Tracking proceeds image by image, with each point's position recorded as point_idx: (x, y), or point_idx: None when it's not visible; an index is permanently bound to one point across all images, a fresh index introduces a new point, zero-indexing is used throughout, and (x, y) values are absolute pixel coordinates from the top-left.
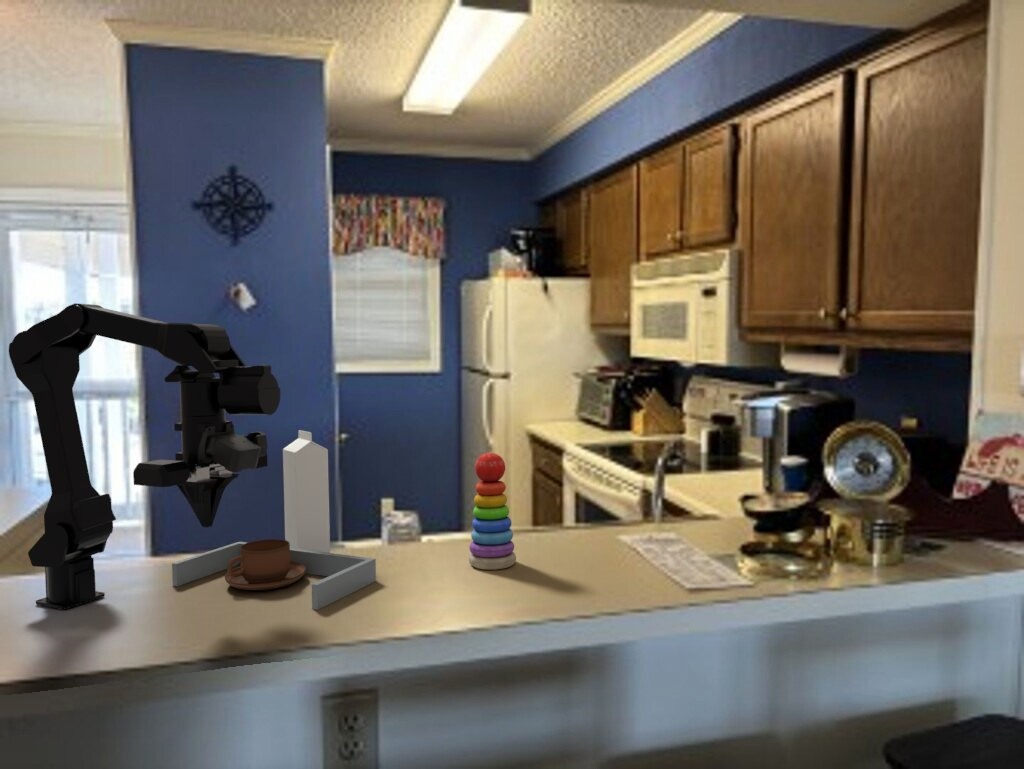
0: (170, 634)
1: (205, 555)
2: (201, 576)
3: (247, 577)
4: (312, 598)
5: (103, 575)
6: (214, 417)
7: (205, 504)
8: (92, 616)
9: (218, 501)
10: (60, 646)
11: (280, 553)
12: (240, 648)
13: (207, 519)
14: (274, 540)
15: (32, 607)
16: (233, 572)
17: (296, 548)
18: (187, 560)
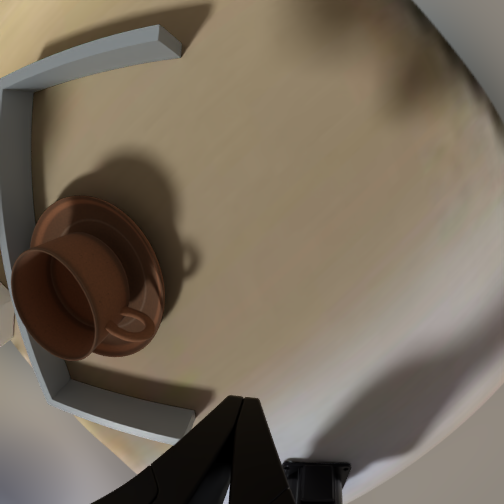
0: (415, 240)
1: (117, 422)
2: (142, 401)
3: (129, 293)
4: (171, 50)
5: None
6: None
7: (284, 494)
8: (363, 424)
9: (159, 473)
10: (477, 363)
11: (52, 247)
12: (419, 53)
13: (260, 422)
14: (21, 315)
15: (344, 489)
16: (145, 321)
17: (1, 309)
18: (157, 433)
